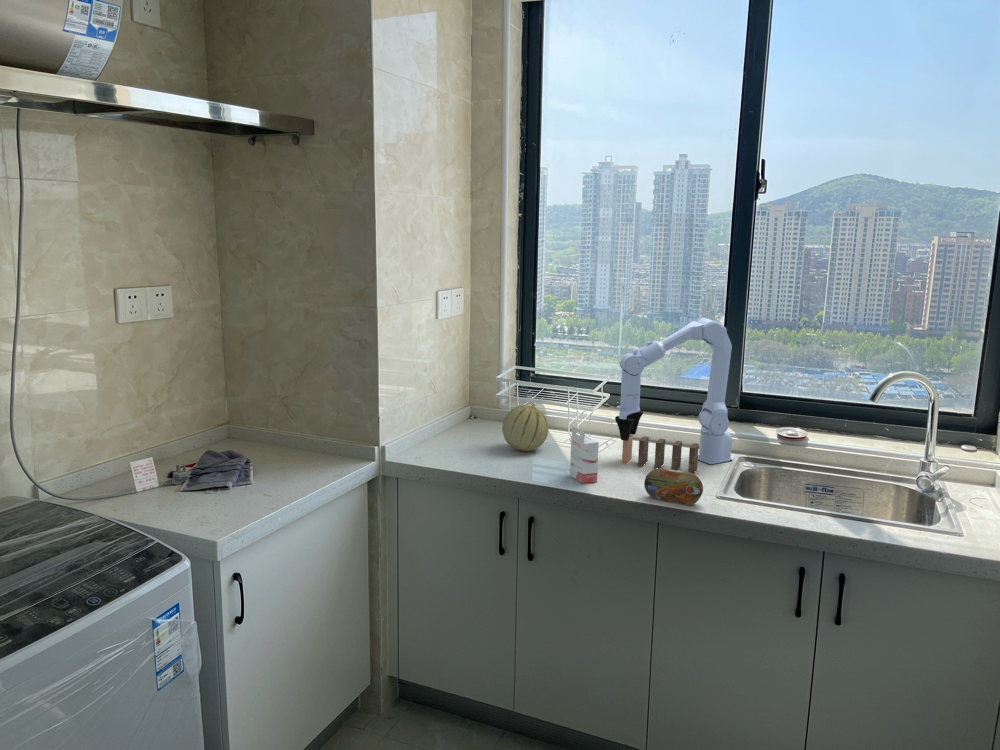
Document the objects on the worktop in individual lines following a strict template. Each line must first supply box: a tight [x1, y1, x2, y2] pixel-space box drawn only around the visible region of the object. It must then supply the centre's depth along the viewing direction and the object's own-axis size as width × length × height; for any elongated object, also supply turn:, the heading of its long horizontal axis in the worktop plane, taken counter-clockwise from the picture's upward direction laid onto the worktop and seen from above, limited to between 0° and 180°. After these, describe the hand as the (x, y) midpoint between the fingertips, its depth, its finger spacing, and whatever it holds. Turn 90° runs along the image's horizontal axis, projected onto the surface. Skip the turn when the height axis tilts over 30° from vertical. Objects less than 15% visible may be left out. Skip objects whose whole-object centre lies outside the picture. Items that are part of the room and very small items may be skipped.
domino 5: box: [687, 442, 700, 474], centre depth 216 cm, size 2×5×8 cm, turn 154°
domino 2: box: [637, 435, 650, 467], centre depth 222 cm, size 2×5×8 cm, turn 154°
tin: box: [643, 467, 704, 506], centre depth 192 cm, size 15×3×8 cm, turn 62°
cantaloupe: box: [501, 403, 550, 452], centre depth 234 cm, size 15×15×15 cm
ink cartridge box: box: [569, 425, 600, 484], centre depth 208 cm, size 9×5×15 cm, turn 20°
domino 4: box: [670, 440, 683, 471], centre depth 218 cm, size 2×5×8 cm, turn 154°
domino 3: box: [653, 438, 666, 469], centre depth 220 cm, size 2×5×8 cm, turn 154°
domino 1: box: [621, 434, 634, 465], centre depth 225 cm, size 2×5×8 cm, turn 154°
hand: (628, 437), depth 224 cm, fingers open, 7 cm apart
